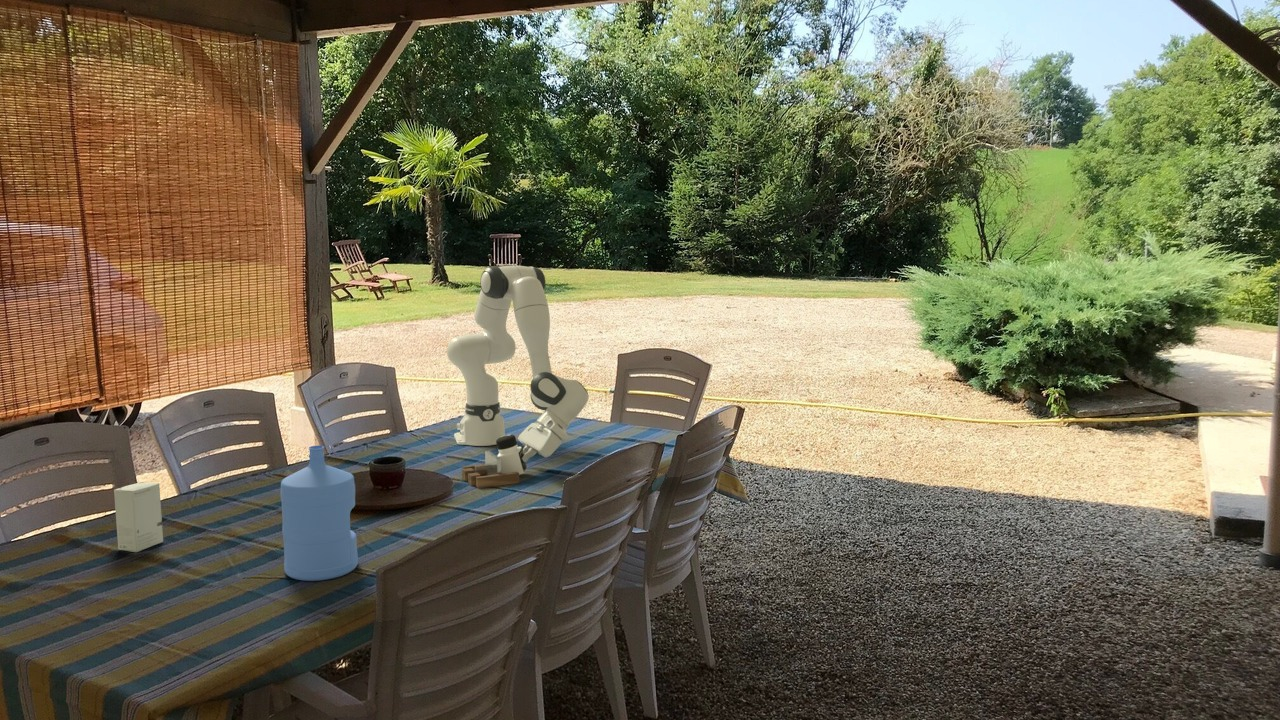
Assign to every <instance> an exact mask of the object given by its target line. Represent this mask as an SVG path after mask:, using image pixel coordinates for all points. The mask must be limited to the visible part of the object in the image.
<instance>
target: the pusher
mask: <svg viewBox="0 0 1280 720" xmlns="http://www.w3.org/2000/svg"><path fill="white" fill-rule="evenodd" d="M484 453H485V454H484V455H485V456H484V458H485V459H484V460H485V461H484V464H485V465H479V464H477V465H478V466H475V470H476V471H477V470H485V472H486V474H485V475H486V476H488V475H496V474H501V459H500V458H499V457H497V456H498V455H496V454H495V453H493V452H492V451H490V450H485V451H484Z"/></svg>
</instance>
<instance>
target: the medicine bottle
mask: <svg viewBox="0 0 1280 720" xmlns="http://www.w3.org/2000/svg"><path fill="white" fill-rule="evenodd" d="M517 441H518V440H517V438H516V436H515V435H514V434H505V436H502V437H500V438H498V439H497V440H496V443H497V444H496V447H497V450H498V454H497V455H496V456H497V457H499V458H500V459H501V474H504V473H512V472H518V473H519V476H520V475H524V474H525V473H526V470H527V468H528V466H527V461H526V462H524V461H523V459H522V453H523V447H522V446H519V445H518V442H517Z"/></svg>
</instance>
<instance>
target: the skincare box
mask: <svg viewBox="0 0 1280 720" xmlns="http://www.w3.org/2000/svg"><path fill="white" fill-rule="evenodd" d="M113 494H114V510H115V520H116V521H115V522H116V523H115V525H116V536H117V549H118V550H119V551H125V552H126V551H127V552H130V553H131V552H133V553H138V552H141V551H143V550H145V549H146V550H147V549H148V548H150V547H153V546H155V545H159V544H162V543H163V542H164V534H163V533H164V532H163V518H162V506H161V503H162V502H161V489H160V483H159V482H158V483H157V482H147V481H140V482H136V483H133V484H129V485H125V486H121V487H119V488H116V489H114V490H113Z"/></svg>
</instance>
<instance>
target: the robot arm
mask: <svg viewBox="0 0 1280 720" xmlns="http://www.w3.org/2000/svg"><path fill="white" fill-rule="evenodd" d="M546 284H547V283H546V277H545V274H544V272H543V271H542V269H541V268H538V267H536V266H524V265H503V266H497V265H496V266H495V265H494V266H490V267H485V268H484V270H483V272H482V273H481V276H480V284H479V285H480V293H479V296H478V299H477V303H476V307H475V311H474V315H473V317H474V321H475V323H476V324H477V325H478V327H480V328H482V329H483V330H482V332H481V333H473V334H463V335H459V336H456V337H453V338H451V339H450V340H449V342H448V344H447V347H446V354H447V358H448V360H449V361H450V363H452V365H454V366H455V367H456V368H457V369H458V370H459V372H460V373H461V374H462V376H463V377H464V382H465V387H466V404H465V407H464V408H465V409H464V412H465V413H464V416H463V417H462V418H461V420H460V421H459V422H457V423H456V429H457V430H458V431H459V430H460V431H459V432H458V431H457V432H455V433H454V434H453V437H454V439H455V441H456V443H457V445H460V446H461V445H463V446H464V445H465V446H476V447H477V446H478V447H480V446H481V447H484V446H485V447H486V446H494V445H495V446H496V445H497V443H496V440H497V439H498V438H500V437H502V436H505V435H506V433H505V432H506V431H505V430H506V429H505V420H504V417H503V416H502V414H500V412H501V404H500V401H499V382H498V380H497V379H496V378H495V377H494V376H493V375H490V374H489V373H487V371H486V368H485V365H491V364H499V363H500V364H501V363H503V362H506V361H508V360H511V359H512V358H513V357H514V355H515V353H516V342H515V341H516V340H515V339H514V338H513V336H512V335H510V333H509V332H508V331H507V320H508V315H509V311H510V307H511V304H512V305H513V311H514V319H515V322H516V325H517V328H518V331H519V333H520V335H521V338H522V340H523V344H525V348H526V350H527V353H528V356H529V360H530V361H529V362H530V367H531V373H532V374H531V375H532V379H531V381H530V386H529V387H530V401H531V403H532V404H533V406H534V407H536V408H537V409H538V410H541V411H543V412H542V413H541V415H540V416H539V417H538V418H537V420H536V421H535V422H531V423H529V425H528V426H527V427H526V428H525V429H523V430H522V432H521V433H520V434H519V435H518V437H517V441H519V442H520V443H521V444H522V445H523V446H524V447H522V450H523V453H522V459H523V461H524V462H526V463H527V461H529V459H531V458H533V457H534V456H535V455H536V454H539V455H540V456H542V457H544V458H548V457H550V456H552V454H554V453H555V452H556V450H557V449H558V448H559V447H560V446H561V444H562V442H565V441H566V440H567V439H568V437H569V434H567V433H568V432H567V431H566V430H567V429H568V427H569V426H570V424H571V422H572V421H573V420H574V419H576V418H577V417H578V416H579V414H580V413H581V412H582V411H583V409H584V408H585V406H586V405H587V404H588V401H589V392H588V391H587V389H586V388H585V386H584V385H583V384H582V383H580V381H578V380H576V379H567V378H563V377H561V376H558V375H555V374H553V373H552V366H551V360H550V356H549V337H550V330H551V329H550V326H551V317H550V316H551V315H550V308H549V304H548V299H547V296H546V293H545V289H546Z"/></svg>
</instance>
